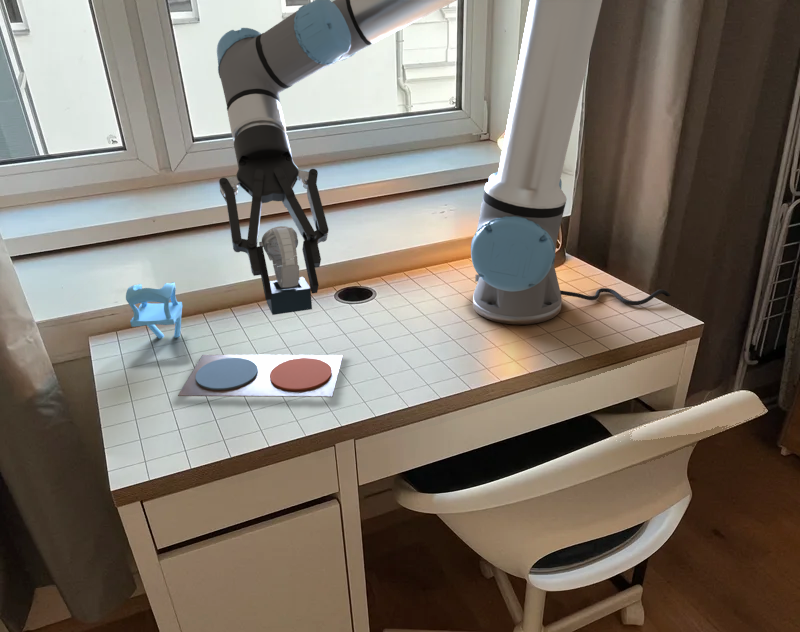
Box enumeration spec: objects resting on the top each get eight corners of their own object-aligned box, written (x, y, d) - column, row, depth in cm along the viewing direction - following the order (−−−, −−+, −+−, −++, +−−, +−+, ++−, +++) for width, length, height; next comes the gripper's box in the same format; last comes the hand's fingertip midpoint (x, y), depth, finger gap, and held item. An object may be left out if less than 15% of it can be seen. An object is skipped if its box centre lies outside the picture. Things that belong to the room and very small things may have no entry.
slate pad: (263, 359, 108) (263, 357, 107) (250, 390, 100) (249, 388, 100) (205, 359, 108) (205, 357, 108) (187, 390, 100) (187, 388, 100)
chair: (195, 338, 117) (181, 270, 110) (185, 363, 110) (169, 291, 103) (147, 341, 116) (131, 272, 110) (135, 366, 109) (116, 294, 103)
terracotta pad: (335, 359, 107) (335, 357, 107) (327, 390, 99) (326, 389, 99) (276, 359, 107) (276, 357, 107) (264, 390, 100) (263, 388, 100)
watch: (302, 292, 103) (296, 217, 97) (315, 314, 96) (309, 236, 90) (263, 297, 101) (255, 221, 95) (274, 320, 95) (265, 241, 89)
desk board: (343, 361, 109) (343, 354, 108) (333, 403, 99) (332, 396, 98) (203, 361, 110) (202, 354, 109) (179, 402, 100) (177, 395, 99)
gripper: (323, 147, 104) (356, 293, 100) (194, 160, 100) (222, 312, 95) (327, 116, 97) (363, 271, 92) (189, 127, 93) (219, 291, 88)
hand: (292, 292), depth 94 cm, fingers closed on watch, 5 cm apart
